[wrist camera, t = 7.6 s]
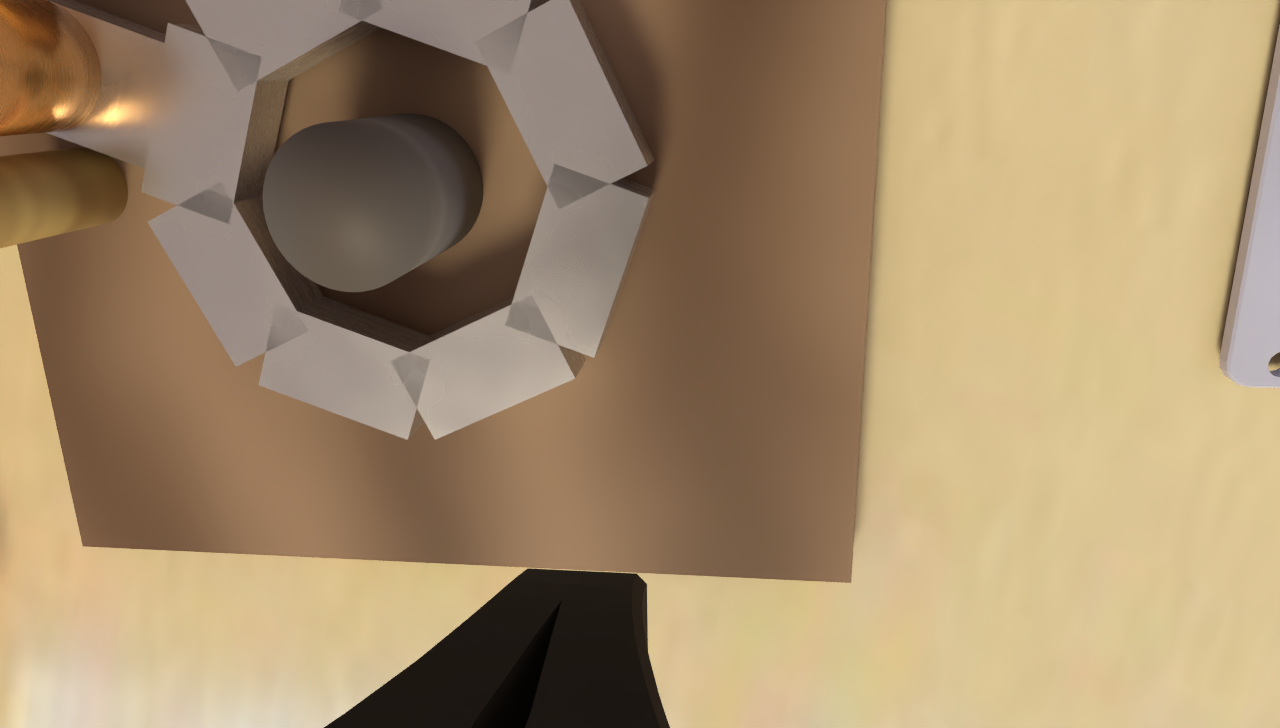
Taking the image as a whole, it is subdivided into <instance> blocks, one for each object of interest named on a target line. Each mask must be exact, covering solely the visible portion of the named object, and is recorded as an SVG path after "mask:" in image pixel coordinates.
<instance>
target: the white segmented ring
mask: <svg viewBox="0 0 1280 728" xmlns="http://www.w3.org/2000/svg"><path fill="white" fill-rule="evenodd" d="M186 2H187V4H188V6H189V7H190V9H191V11H192V13H193V14H194V16H195V18H196V20H197V21H198V23H199V25H200V26H199V25H188V24H176V23H168V25H167V31H166V34H165V33H162V32H160V31H157V30H154V29H151V28H149V27H146V26H143V25H140V24H138V23H135V22H132V21H129V20H127V19H124V18H121V17H118V16H116V15H113V14H110V13H107V12H105V11H102V10H99V9H96V8H94V7H91V6H88V5H86V4H83V3H80V2H77V1H75V0H0V136H12V135H23V134H35V133H48V134H51V135H54V136H56V137H59V138H62V139H65V140H67V141H70V142H73V143H76V144H78V145H81V146H84V147H87V148H89V149H92V150H95V151H97V152H100V153H103V154H106V155H108V156H111V157H114V158H117V159H119V160H122V161H125V162H128V163H130V164H133V165H136V166H138V167H141V168H144V169H145V170H144V177H143V183H142V190H141V192H142V193H145V194H148V195H150V196H153V197H156V198H158V199H161V200H164V201H167V202H169V203H172V204H175V205H177V206H175V207H173V208H172V209H170V210H168V211H166V212H164V213H162V214H161V215H159V216H157V217H155V218H153V219H152V220H150V221H148V224H149V225H150V227H151V229H152V230H153V232H154V234H155V235H156V237H157V239H158V240H159V242H160V243H161V245H162V247H163V248H164V250H165V252H166V253H167V255H168V257H169V258H170V260H171V261H172V263H173V265H174V266H175V268H176V270H177V271H178V273H179V275H180V276H181V278H182V279H183V281H184V283H185V284H186V286H187V288H188V289H189V291H190V293H191V294H192V296H193V297H194V299H195V301H196V302H197V304H198V306H199V307H200V309H201V311H202V312H203V314H204V315H205V317H206V319H207V320H208V322H209V324H210V325H211V327H212V329H213V330H214V332H215V333H216V335H217V337H218V338H219V340H220V342H221V343H222V345H223V347H224V348H225V350H226V352H227V353H228V355H229V356H230V358H231V360H232V361H233V363H234V365H235V366H239V365H241V364H243V363H245V362H247V361H249V360H251V359H253V358H255V357H257V356H259V355H261V354H263V353H265V357H264V361H263V366H262V371H261V375H260V380H259V386H262V387H265V388H267V389H270V390H273V391H276V392H278V393H281V394H284V395H286V396H289V397H292V398H295V399H297V400H300V401H303V402H306V403H308V404H311V405H314V406H316V407H319V408H322V409H325V410H327V411H330V412H333V413H335V414H338V415H341V416H344V417H346V418H349V419H352V420H355V421H357V422H360V423H363V424H365V425H368V426H371V427H374V428H376V429H379V430H382V431H384V432H387V433H390V434H393V435H395V436H398V437H401V438H404V439H406V440H408V439H409V438H410V437H411V436H412V435H413V434H414V433H415V432H416V431H417V430H418V429H419V428H420V426H421V425H422V424H423V423H424V422H425V423H426V425H427V427H428V429H429V430H430V432H431V434H432V436H433V437H434V439H435V440H436V439H438V438H440V437H443V436H445V435H447V434H450V433H452V432H454V431H456V430H459V429H461V428H463V427H466V426H468V425H470V424H472V423H475V422H477V421H479V420H482V419H484V418H486V417H488V416H491V415H493V414H495V413H498V412H500V411H502V410H504V409H507V408H509V407H511V406H514V405H516V404H518V403H520V402H523V401H525V400H527V399H530V398H532V397H534V396H536V395H539V394H541V393H543V392H546V391H548V390H550V389H552V388H555V387H557V386H559V385H562V384H564V383H566V382H568V381H571V380H573V379H575V378H576V376H577V375H578V373H579V371H580V370H581V368H582V366H583V365H584V363H585V361H586V359H585V357H584V355H583V354H585V355H588V356H590V357H593V358H594V357H595V355H596V354H597V352H598V350H599V348H600V346H601V345H602V343H603V341H604V339H605V336H606V333H607V330H608V327H609V324H610V321H611V318H612V315H613V313H614V310H615V307H616V304H617V301H618V298H619V295H620V292H621V289H622V287H623V284H624V281H625V278H626V275H627V272H628V269H629V266H630V263H631V260H632V258H633V255H634V252H635V249H636V246H637V243H638V240H639V237H640V234H641V232H642V229H643V226H644V223H645V220H646V217H647V214H648V211H649V208H650V205H651V203H652V200H653V197H654V194H655V191H656V190H654V189H652V188H649V187H646V186H643V185H641V184H638V183H635V182H632V181H630V180H627V179H624V177H626V176H628V175H630V174H632V173H634V172H636V171H638V170H640V169H642V168H644V167H646V166H648V165H649V164H650V163H651V162H652V161H654V158H653V156H652V154H651V151H650V149H649V147H648V145H647V143H646V141H645V139H644V137H643V134H642V132H641V130H640V128H639V126H638V124H637V122H636V119H635V117H634V115H633V113H632V111H631V109H630V107H629V105H628V102H627V100H626V98H625V96H624V94H623V92H622V90H621V87H620V85H619V83H618V81H617V79H616V77H615V75H614V73H613V70H612V68H611V66H610V64H609V62H608V60H607V58H606V56H605V53H604V51H603V49H602V47H601V45H600V43H599V41H598V38H597V36H596V34H595V32H594V30H593V28H592V26H591V24H590V21H589V19H588V17H587V15H586V13H585V11H584V9H583V6H582V4H581V2H580V0H550V1H548V2H547V0H186ZM381 27H382V28H384V29H387V30H390V31H393V32H395V33H398V34H401V35H404V36H406V37H409V38H412V39H415V40H417V41H420V42H423V43H426V44H428V45H431V46H434V47H437V48H439V49H442V50H445V51H448V52H450V53H453V54H456V55H459V56H461V57H464V58H467V59H470V60H472V61H475V62H478V63H481V64H483V65H486V66H487V67H488V69H489V71H490V73H491V75H492V77H493V79H494V81H495V83H496V85H497V87H498V89H499V91H500V93H501V95H502V97H503V99H504V101H505V103H506V105H507V107H508V109H509V111H510V113H511V115H512V117H513V119H514V121H515V123H516V125H517V127H518V129H519V131H520V133H521V135H522V137H523V139H524V141H525V143H526V145H527V147H528V149H529V151H530V153H531V155H532V157H533V159H534V161H535V163H536V165H537V167H538V169H539V171H540V173H541V175H542V177H543V179H544V181H545V183H546V185H547V190H546V193H545V197H544V200H543V203H542V206H541V210H540V213H539V216H538V220H537V223H536V226H535V229H534V233H533V236H532V239H531V242H530V246H529V249H528V252H527V256H526V259H525V262H524V265H523V269H522V272H521V275H520V278H519V282H518V285H517V288H516V292H515V295H514V296H513V297H511V298H509V299H507V300H505V301H503V302H501V303H498V304H496V305H494V306H492V307H490V308H488V309H486V310H484V311H481V312H479V313H477V314H475V315H473V316H471V317H469V318H466V319H464V320H462V321H460V322H458V323H456V324H454V325H452V326H449V327H447V328H445V329H443V330H441V331H439V332H437V333H435V334H432V335H430V336H429V335H427V334H424V333H421V332H418V331H416V330H413V329H410V328H407V327H405V326H402V325H399V324H397V323H394V322H391V321H388V320H386V319H383V318H380V317H377V316H375V315H372V314H369V313H367V312H364V311H361V310H358V309H356V308H353V307H350V306H347V305H345V304H342V303H339V302H336V301H334V300H331V299H328V298H326V297H324V296H323V294H322V293H321V291H320V289H319V287H318V286H317V284H316V283H315V282H313V281H311V280H310V279H308V278H307V277H305V276H304V275H302V274H301V273H300V272H299V271H297V270H296V269H295V268H294V267H293V266H292V265H291V264H290V263H289V262H288V261H287V260H286V259H285V257H284V256H283V255H282V253H281V252H280V251H279V249H278V247H277V246H276V244H275V242H274V241H273V238H272V236H271V234H270V232H269V229H268V226H267V223H266V220H265V215H264V210H263V185H264V180H265V175H266V172H267V169H268V166H269V164H270V162H271V160H272V158H273V155H274V150H275V145H276V140H277V135H278V131H279V126H280V121H281V116H282V111H283V106H284V101H285V96H286V91H287V86H288V81H289V80H290V79H292V78H294V77H295V76H297V75H299V74H301V73H302V72H304V71H306V70H308V69H309V68H311V67H313V66H315V65H316V64H318V63H320V62H322V61H324V60H325V59H327V58H329V57H331V56H332V55H334V54H336V53H338V52H339V51H341V50H343V49H345V48H346V47H348V46H350V45H352V44H353V43H355V42H357V41H359V40H360V39H362V38H364V37H366V36H367V35H369V34H371V33H373V32H374V31H376V30H378V29H380V28H381Z"/></svg>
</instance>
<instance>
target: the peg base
mask: <svg viewBox="0 0 1280 728" xmlns="http://www.w3.org/2000/svg"><path fill="white" fill-rule="evenodd" d="M75 1H77V2H80V3H83V4H86V5H88V6H91V7H94V8H96V9H99V10H102V11H105V12H107V13H110V14H113V15H116V16H118V17H121V18H124V19H127V20H129V21H132V22H135V23H138V24H140V25H143V26H146V27H149V28H151V29H154V30H157V31H160V32H162V33H165V34H166V31H167V25H168V23H176V24H188V25H199V23H198V21H197V20H196V18H195V16H194V14H193V13H192V11H191V9H190V7H189V6H188V4H187V2H186V0H75ZM548 1H550V0H547V2H548ZM580 2H581V4H582V6H583V9H584V11H585V13H586V15H587V17H588V19H589V21H590V24H591V26H592V28H593V30H594V32H595V34H596V36H597V38H598V41H599V43H600V45H601V47H602V49H603V51H604V53H605V56H606V58H607V60H608V62H609V64H610V66H611V68H612V70H613V73H614V75H615V77H616V79H617V81H618V83H619V85H620V87H621V90H622V92H623V94H624V96H625V98H626V100H627V102H628V105H629V107H630V109H631V111H632V113H633V115H634V117H635V119H636V122H637V124H638V126H639V128H640V130H641V132H642V134H643V137H644V139H645V141H646V143H647V145H648V147H649V149H650V151H651V154H652V156H653V158H654V161H652V162H651V163H650V164H649V165H648V166H646V167H644V168H642V169H640V170H638V171H636V172H634V173H632V174H630V175H628V176H626V177H624V179H627V180H630V181H632V182H635V183H638V184H641V185H643V186H646V187H649V188H652V189H654V190H656V191H655V194H654V197H653V200H652V203H651V205H650V208H649V211H648V214H647V217H646V220H645V223H644V226H643V229H642V232H641V234H640V237H639V240H638V243H637V246H636V249H635V252H634V255H633V258H632V260H631V263H630V266H629V269H628V272H627V275H626V278H625V281H624V284H623V287H622V289H621V292H620V295H619V298H618V301H617V304H616V307H615V310H614V313H613V315H612V318H611V321H610V324H609V327H608V330H607V333H606V336H605V339H604V341H603V343H602V345H601V346H600V348H599V350H598V352H597V354H596V355H595V357H594V358H593V357H590V356H588V355H585V354H583V355H584V357H585V359H586V361H585V363H584V365H583V366H582V368H581V370H580V371H579V373H578V375H577V376H576V378H575V379H573V380H571V381H568V382H566V383H564V384H562V385H559V386H557V387H555V388H552V389H550V390H548V391H546V392H543V393H541V394H539V395H536V396H534V397H532V398H530V399H527V400H525V401H523V402H520V403H518V404H516V405H514V406H511V407H509V408H507V409H504V410H502V411H500V412H498V413H495V414H493V415H491V416H488V417H486V418H484V419H482V420H479V421H477V422H475V423H472V424H470V425H468V426H466V427H463V428H461V429H459V430H456V431H454V432H452V433H450V434H447V435H445V436H443V437H440V438H438V439H436V440H435V439H434V437H433V436H432V434H431V432H430V430H429V429H428V427H427V425H426V423H425V422H424V423H423V424H422V425H421V426H420V428H419V429H418V430H417V431H416V432H415V433H414V434H413V435H412V436H411V437H410V438H409V439H408V440H406V439H404V438H401V437H398V436H395V435H393V434H390V433H387V432H384V431H382V430H379V429H376V428H374V427H371V426H368V425H365V424H363V423H360V422H357V421H355V420H352V419H349V418H346V417H344V416H341V415H338V414H335V413H333V412H330V411H327V410H325V409H322V408H319V407H316V406H314V405H311V404H308V403H306V402H303V401H300V400H297V399H295V398H292V397H289V396H286V395H284V394H281V393H278V392H276V391H273V390H270V389H267V388H265V387H262V386H259V380H260V375H261V371H262V366H263V361H264V357H265V353H263V354H261V355H259V356H257V357H255V358H253V359H251V360H249V361H247V362H245V363H243V364H241V365H239V366H235V365H234V363H233V361H232V360H231V358H230V356H229V355H228V353H227V352H226V350H225V348H224V347H223V345H222V343H221V342H220V340H219V338H218V337H217V335H216V333H215V332H214V330H213V329H212V327H211V325H210V324H209V322H208V320H207V319H206V317H205V315H204V314H203V312H202V311H201V309H200V307H199V306H198V304H197V302H196V301H195V299H194V297H193V296H192V294H191V293H190V291H189V289H188V288H187V286H186V284H185V283H184V281H183V279H182V278H181V276H180V275H179V273H178V271H177V270H176V268H175V266H174V265H173V263H172V261H171V260H170V258H169V257H168V255H167V253H166V252H165V250H164V248H163V247H162V245H161V243H160V242H159V240H158V239H157V237H156V235H155V234H154V232H153V230H152V229H151V227H150V225H149V224H148V221H150V220H152V219H153V218H155V217H157V216H159V215H161V214H162V213H164V212H166V211H168V210H170V209H172V208H173V207H175V206H177V205H175V204H172V203H169V202H167V201H164V200H161V199H158V198H156V197H153V196H150V195H148V194H145V193H142V192H141V190H142V183H143V177H144V170H145V169H144V168H141V167H138V166H136V165H133V164H130V163H128V162H125V161H122V160H119V159H117V158H114V157H111V156H108V155H106V154H103V153H100V152H97V151H95V150H92V149H89V148H87V147H84V146H81V145H78V144H76V143H73V142H70V141H67V140H65V139H62V138H59V137H56V136H54V135H51V134H48V133H35V134H23V135H12V136H0V248H3V247H7V246H12V245H16V244H17V246H18V251H19V255H20V260H21V264H22V269H23V274H24V278H25V283H26V287H27V292H28V297H29V301H30V306H31V310H32V315H33V319H34V324H35V329H36V333H37V338H38V342H39V347H40V352H41V356H42V361H43V365H44V370H45V375H46V379H47V384H48V388H49V393H50V397H51V402H52V407H53V411H54V416H55V420H56V425H57V430H58V434H59V439H60V443H61V448H62V452H63V457H64V462H65V466H66V471H67V475H68V480H69V485H70V489H71V494H72V498H73V503H74V508H75V512H76V517H77V521H78V526H79V530H80V535H81V540H82V544H83V546H89V547H110V548H131V549H152V550H173V551H194V552H215V553H236V554H257V555H278V556H299V557H320V558H341V559H362V560H383V561H404V562H425V563H446V564H467V565H488V566H509V567H531V568H552V569H573V570H594V571H615V572H636V573H657V574H678V575H699V576H720V577H741V578H762V579H783V580H804V581H825V582H846V583H851V575H852V559H853V542H854V526H855V509H856V493H857V476H858V460H859V443H860V427H861V410H862V394H863V377H864V361H865V344H866V328H867V311H868V294H869V278H870V261H871V245H872V228H873V212H874V195H875V179H876V162H877V146H878V129H879V113H880V96H881V80H882V63H883V46H884V30H885V13H886V0H580ZM199 26H200V25H199ZM546 190H547V185H546V183H545V181H544V179H543V177H542V175H541V173H540V171H539V169H538V167H537V165H536V163H535V161H534V159H533V157H532V155H531V153H530V151H529V149H528V147H527V145H526V143H525V141H524V139H523V137H522V135H521V133H520V131H519V129H518V127H517V125H516V123H515V121H514V119H513V117H512V115H511V113H510V111H509V109H508V107H507V105H506V103H505V101H504V99H503V97H502V95H501V93H500V91H499V89H498V87H497V85H496V83H495V81H494V79H493V77H492V75H491V73H490V71H489V69H488V67H487V66H486V65H483V64H481V63H478V62H475V61H472V60H470V59H467V58H464V57H461V56H459V55H456V54H453V53H450V52H448V51H445V50H442V49H439V48H437V47H434V46H431V45H428V44H426V43H423V42H420V41H417V40H415V39H412V38H409V37H406V36H404V35H401V34H398V33H395V32H393V31H390V30H387V29H384V28H382V27H381V28H380V29H378V30H376V31H374V32H373V33H371V34H369V35H367V36H366V37H364V38H362V39H360V40H359V41H357V42H355V43H353V44H352V45H350V46H348V47H346V48H345V49H343V50H341V51H339V52H338V53H336V54H334V55H332V56H331V57H329V58H327V59H325V60H324V61H322V62H320V63H318V64H316V65H315V66H313V67H311V68H309V69H308V70H306V71H304V72H302V73H301V74H299V75H297V76H295V77H294V78H292V79H290V80H289V81H288V86H287V91H286V96H285V101H284V106H283V111H282V116H281V121H280V126H279V131H278V135H277V140H276V145H275V150H274V155H273V158H272V160H271V162H270V164H269V166H268V169H267V172H266V175H265V180H264V185H263V210H264V215H265V220H266V223H267V226H268V229H269V232H270V234H271V236H272V238H273V241H274V242H275V244H276V246H277V247H278V249H279V251H280V252H281V253H282V255H283V256H284V257H285V259H286V260H287V261H288V262H289V263H290V264H291V265H292V266H293V267H294V268H295V269H296V270H297V271H299V272H300V273H301V274H302V275H304V276H305V277H307V278H308V279H310V280H311V281H313V282H315V283H316V284H317V286H318V287H319V289H320V291H321V293H322V294H323V296H324V297H326V298H328V299H331V300H334V301H336V302H339V303H342V304H345V305H347V306H350V307H353V308H356V309H358V310H361V311H364V312H367V313H369V314H372V315H375V316H377V317H380V318H383V319H386V320H388V321H391V322H394V323H397V324H399V325H402V326H405V327H407V328H410V329H413V330H416V331H418V332H421V333H424V334H427V335H429V336H430V335H432V334H435V333H437V332H439V331H441V330H443V329H445V328H447V327H449V326H452V325H454V324H456V323H458V322H460V321H462V320H464V319H466V318H469V317H471V316H473V315H475V314H477V313H479V312H481V311H484V310H486V309H488V308H490V307H492V306H494V305H496V304H498V303H501V302H503V301H505V300H507V299H509V298H511V297H513V296H514V295H515V292H516V288H517V285H518V282H519V278H520V275H521V272H522V269H523V265H524V262H525V259H526V256H527V252H528V249H529V246H530V242H531V239H532V236H533V233H534V229H535V226H536V223H537V220H538V216H539V213H540V210H541V206H542V203H543V200H544V197H545V193H546Z"/></svg>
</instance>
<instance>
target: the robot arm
mask: <svg viewBox="0 0 1280 728" xmlns="http://www.w3.org/2000/svg"><path fill="white" fill-rule="evenodd" d="M1279 352H1280V26H1279V31H1278V37H1277V42H1276V48H1275V53H1274V59H1273V64H1272V70H1271V75H1270V81H1269V87H1268V92H1267V98H1266V103H1265V109H1264V114H1263V120H1262V125H1261V131H1260V136H1259V142H1258V147H1257V153H1256V159H1255V164H1254V170H1253V175H1252V181H1251V186H1250V192H1249V197H1248V203H1247V208H1246V214H1245V219H1244V225H1243V231H1242V236H1241V242H1240V247H1239V253H1238V258H1237V264H1236V269H1235V275H1234V280H1233V286H1232V291H1231V297H1230V303H1229V308H1228V314H1227V319H1226V325H1225V330H1224V336H1223V341H1222V347H1221V352H1220V358H1219V359H1220V368H1221V370H1222V372H1223V374H1224V375H1225V376H1226V377H1228V378H1229V379H1231V380H1232V381H1234V382H1235V383H1237V384H1238V385H1241V386H1245V387H1257V388H1280V368H1279V369H1277V370H1273V371H1269V368H1268V363H1269V361H1270V359H1271V357H1273V356H1274V355H1275V354H1277V353H1279ZM324 728H670V726H669V724H668V721H667V718H666V715H665V712H664V709H663V706H662V703H661V700H660V697H659V693H658V689H657V686H656V682H655V678H654V674H653V670H652V667H651V663H650V659H649V654H648V638H647V584H646V583H645V582H644V581H643V580H642V579H641V578H640V577H639V576H638V575H637V574H631V573H610V572H589V571H567V570H546V569H527V570H525V571H524V572H523V573H521V574H520V575H519V576H518V577H516V578H515V579H514V580H513V581H512V582H510V583H509V584H508V585H507V586H506V587H504V588H503V589H502V590H501V591H500V592H499V593H497V594H496V595H495V596H494V597H493V598H492V599H491V600H489V601H488V602H487V603H486V604H485V605H484V606H482V607H481V608H480V609H479V610H478V611H477V612H475V613H474V614H473V615H472V616H471V617H469V618H468V619H467V620H466V621H465V622H463V623H462V624H461V625H460V626H459V627H457V628H456V629H455V630H454V631H453V632H451V633H450V634H449V635H448V636H446V637H445V638H444V639H443V640H442V641H440V642H439V643H438V644H437V645H435V646H434V647H433V648H432V649H431V650H429V651H428V652H427V653H426V654H424V655H423V656H422V657H421V658H419V659H418V660H417V661H416V662H414V663H413V664H412V665H410V666H409V667H407V668H406V669H405V670H403V671H402V672H401V673H399V674H398V675H397V676H395V677H394V678H393V679H391V680H390V681H388V682H387V683H386V684H384V685H383V686H382V687H380V688H379V689H378V690H376V691H375V692H373V693H372V694H371V695H369V696H368V697H367V698H365V699H364V700H363V701H361V702H360V703H359V704H357V705H356V706H354V707H353V708H352V709H350V710H349V711H348V712H346V713H345V714H343V715H342V716H340V717H339V718H337V719H336V720H334V721H333V722H332V723H330V724H329V725H327V726H326V727H324Z"/></svg>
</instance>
